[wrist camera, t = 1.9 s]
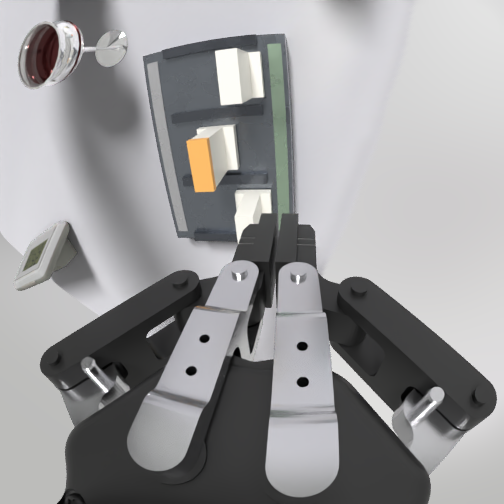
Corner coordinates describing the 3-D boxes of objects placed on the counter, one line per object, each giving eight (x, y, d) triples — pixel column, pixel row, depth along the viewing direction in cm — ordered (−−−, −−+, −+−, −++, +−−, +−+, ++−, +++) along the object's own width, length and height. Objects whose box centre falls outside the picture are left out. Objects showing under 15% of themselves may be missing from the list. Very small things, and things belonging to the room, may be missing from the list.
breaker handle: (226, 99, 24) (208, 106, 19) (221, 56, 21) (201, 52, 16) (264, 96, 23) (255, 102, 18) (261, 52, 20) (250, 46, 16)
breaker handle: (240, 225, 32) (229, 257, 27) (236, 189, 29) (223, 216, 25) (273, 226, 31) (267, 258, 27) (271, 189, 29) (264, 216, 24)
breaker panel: (186, 225, 37) (176, 240, 34) (156, 56, 24) (140, 56, 21) (294, 225, 34) (293, 242, 31) (286, 37, 22) (284, 32, 19)
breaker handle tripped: (205, 168, 28) (184, 192, 23) (199, 127, 26) (175, 142, 21) (239, 166, 28) (225, 191, 23) (235, 123, 25) (218, 138, 20)
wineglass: (82, 50, 23) (10, 62, 14) (117, 13, 20) (44, 7, 11) (106, 84, 26) (34, 104, 17) (143, 47, 23) (72, 49, 14)
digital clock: (70, 215, 39) (29, 254, 31) (92, 259, 44) (59, 300, 36) (26, 228, 43) (-7, 259, 35) (45, 263, 48) (17, 296, 40)
